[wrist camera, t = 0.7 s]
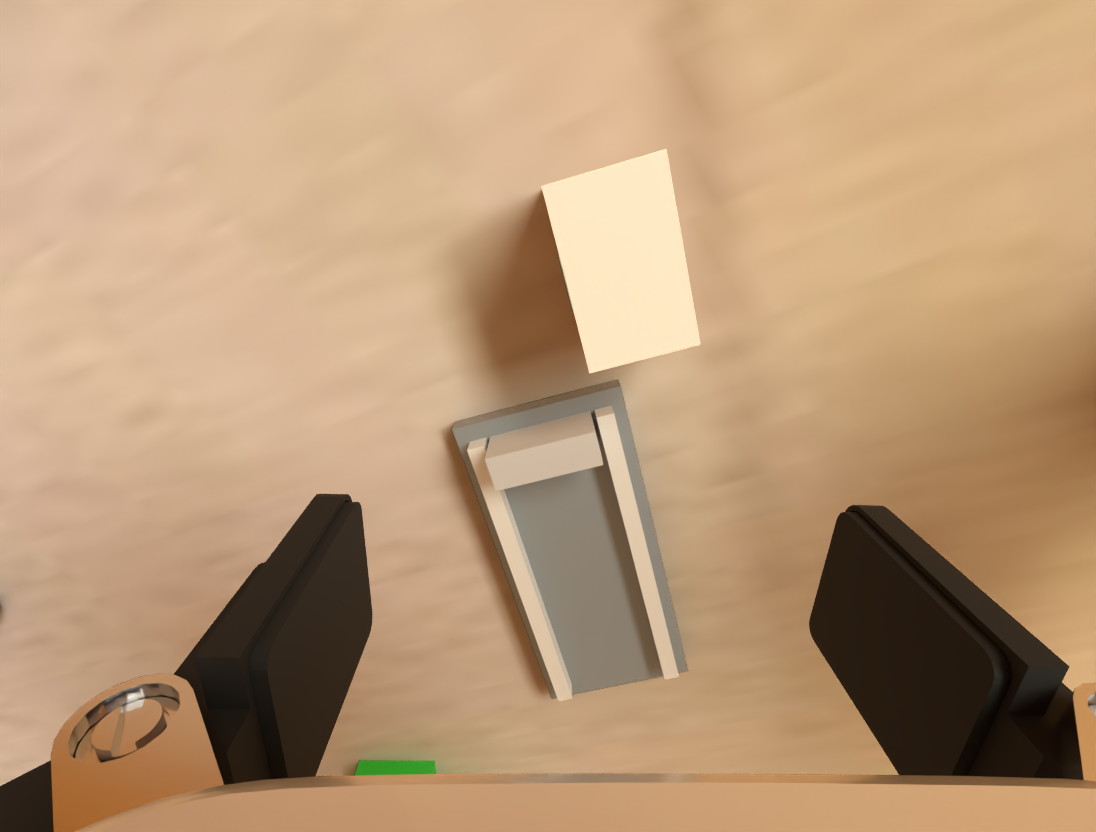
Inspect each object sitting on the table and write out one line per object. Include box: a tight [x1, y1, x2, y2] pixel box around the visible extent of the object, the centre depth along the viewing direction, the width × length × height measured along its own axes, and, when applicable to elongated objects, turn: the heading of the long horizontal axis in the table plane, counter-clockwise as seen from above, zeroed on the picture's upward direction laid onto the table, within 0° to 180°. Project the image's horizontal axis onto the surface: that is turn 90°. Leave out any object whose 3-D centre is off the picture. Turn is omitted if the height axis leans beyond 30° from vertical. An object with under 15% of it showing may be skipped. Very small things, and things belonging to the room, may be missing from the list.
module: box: [541, 149, 700, 374], centre depth 26 cm, size 5×8×7 cm, turn 15°
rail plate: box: [452, 380, 688, 701], centre depth 34 cm, size 10×22×4 cm, turn 15°
